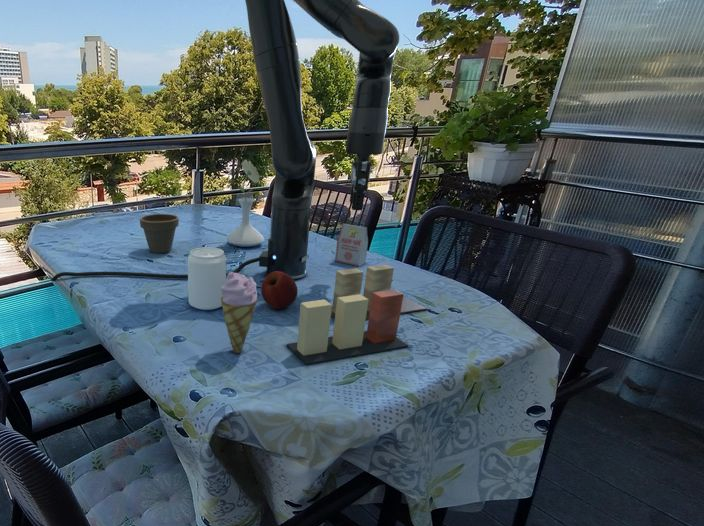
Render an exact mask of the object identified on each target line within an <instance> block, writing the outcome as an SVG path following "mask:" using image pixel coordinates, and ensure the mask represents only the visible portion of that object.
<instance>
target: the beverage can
mask: <svg viewBox="0 0 704 526" xmlns="http://www.w3.org/2000/svg"><path fill="white" fill-rule="evenodd" d="M226 274H227V256H226V255H225V251H224V250H223V249H222V248H219V247H213V246H201V247H195V248H193V249H190V251H189V254H188V256H187V275H188V279H187V288H188V289H187V290H188V291H187V296H188V304H189V305H190V306H191V307H192V308H195V309H197V310H203V311H212V310H216V309H219V308H221V307H222V303H221V297H222V296H223V295H222V291H221V287H222V286H223V285H224V283H225V281H226V280H227V277H226Z"/></svg>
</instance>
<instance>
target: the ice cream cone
mask: <svg viewBox="0 0 704 526" xmlns="http://www.w3.org/2000/svg"><path fill="white" fill-rule="evenodd" d="M228 273H229V274H228V276H226V281H225V283H224V285H223V286H222V287H221V291H222V295H223V296H222V297H221V303H222V306H221V307H222V314H223V319H224V323H225V327H226V330H227V334H228V337H229V341H230V345H231V348H232V352H233V353H235V354H240V353H241V352H242V350H243V348H244V345H245V342H246V339H247V336H248V333H249V330H250V327H251V324H252V321H253V317H254V313H255V307H256V304H257V300H258V293H257V282H255V280H254V278H253V277H247V276H246V275H244V274H240V273H233V271H230V272H228Z"/></svg>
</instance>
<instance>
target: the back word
mask: <svg viewBox="0 0 704 526" xmlns="http://www.w3.org/2000/svg"><path fill="white" fill-rule="evenodd" d="M394 270H395V268H394V267H393V266H390V265H388V264H378V265H370V266H366V271H365V280H364V287H363V292H362V291H361V290H362V284H363V277H364V271H363V270H361V269H358V268H357V267H356V268H347V269H339V270H336V272H335V281H334V288H333V289H334V290H333V297H332V309H331V318H333V319H335V314H336V305H337V297H344V296H351V295H358V294H360V295H361V293H363V294H362V296H364V297H366V298H367V299H369V300H368V307H367V314H366V320H369V314H370V307H371V300H372V293H373V292H379V291H386V290H392V282H393V275H394V272H395V271H394ZM427 310H428V307H426V306H424V305H421V304H420V303H417V302H416V301H414V300H412V299H410V298H408V297H407V296H404V295H403V301H402V307H401V312H400V315H404V314H410V313H416V312H423V311H427Z"/></svg>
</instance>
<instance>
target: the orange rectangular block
mask: <svg viewBox="0 0 704 526" xmlns="http://www.w3.org/2000/svg"><path fill="white" fill-rule="evenodd" d="M403 296H404V293H402V292H400V291H399V290H397V289H390V290H386V291H379V292H373V293H372V300H371V307H370V314H369V319H368V321H367V329H366V331H367V334H366V338H367V339H369V340H370V341H371V342H373V343H374V344H375V343H380V342H386V341H392V340H396V338H397V334H398V328H399V323H400V318H401V314H400V312H401V307H402V301H403Z"/></svg>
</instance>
